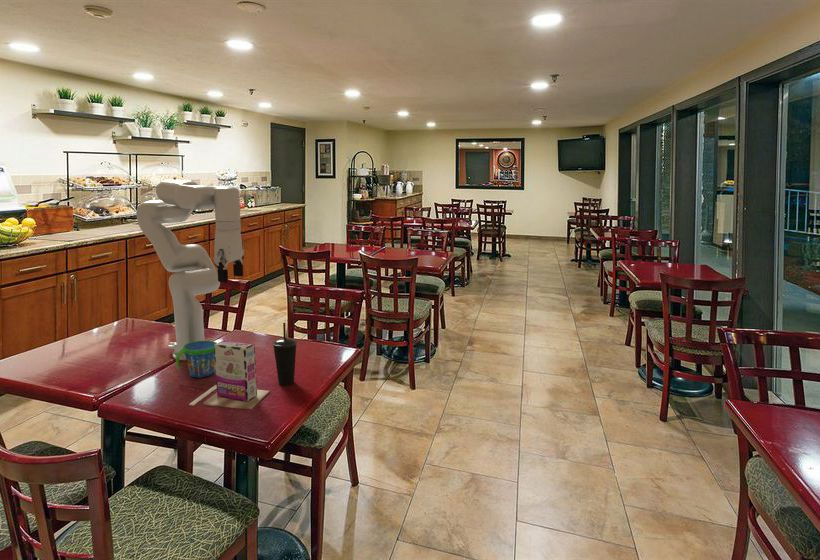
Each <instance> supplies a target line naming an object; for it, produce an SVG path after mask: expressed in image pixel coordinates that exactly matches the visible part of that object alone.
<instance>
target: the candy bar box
mask: <svg viewBox="0 0 820 560" xmlns="http://www.w3.org/2000/svg"><path fill="white" fill-rule="evenodd" d="M216 343H217V344H214V351H215V378H216V379H215V380H216V382H215V383H216V385H217V389H216V393H217V396H218V397H223V398H229V399H234V400H240V401H245V402H248V401H250V400H251V399H253V398H255V397H256V396H257V390H258V387H257V368H256V345H255V344H253V343H247V342H240V341H234V340H233V341H232V340H226V339H225V340H222V341H220V342H216Z"/></svg>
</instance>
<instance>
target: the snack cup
mask: <svg viewBox="0 0 820 560" xmlns="http://www.w3.org/2000/svg"><path fill="white" fill-rule="evenodd" d="M217 343H218V342H216V341H214V340H213V341H212V340H205V341H196V342H191V343H188V344H186V345H184V346H183V349H182V350H180V351H179V353H178V354H177V357H176V359H175V366H176V368H177V370H178V371H180V370H181V368H180V360H179V357H180V356H181V355H182V354H183V353H185V356H186V360H185V361H186V364H187V367H188V368H187V369H188V372H189V373H188V374H189V376H190V377H192V378H198V379H199V378H201V379H202V378H205V377H208V376H213V374H214V372H215V369H216V366H215V351H214V344H217Z"/></svg>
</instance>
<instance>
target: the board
mask: <svg viewBox="0 0 820 560" xmlns="http://www.w3.org/2000/svg"><path fill="white" fill-rule="evenodd" d="M270 393H271V390H264V389H257V396H256V397H255V398H253V399H251V400H250V401H248V402H245V401H240V400H234V399H229V398H223V397H218V396H217V392H215V393H214V394H212V396H210V397H209V398H207V399H206V400H204V401H203V402H202V406H212V407H223V408H232V409H241V410H253V409H254V408H255V407H256V406H257V405H258V404H259V403H260V402H261V401H262V400H263V399H264V398H265V397H267V396H268V394H270Z"/></svg>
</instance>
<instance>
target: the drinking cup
mask: <svg viewBox="0 0 820 560" xmlns="http://www.w3.org/2000/svg"><path fill="white" fill-rule="evenodd" d="M282 328H283V333H282V334H283V337H282V338H278V339H276V340H274V341H273V342H272V346H273V353H274V359H275V365H276V366H275V367H276V373H277V380H278V385H279V386H283V387H284V386H291V385H293V384H294V382H295V375H296V374H295V373H296V371H295V370H296V357H297V355H296V354H297V345H298V341H297V340H296V339H294V338H290V337H287V333H286V322H283V327H282Z"/></svg>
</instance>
